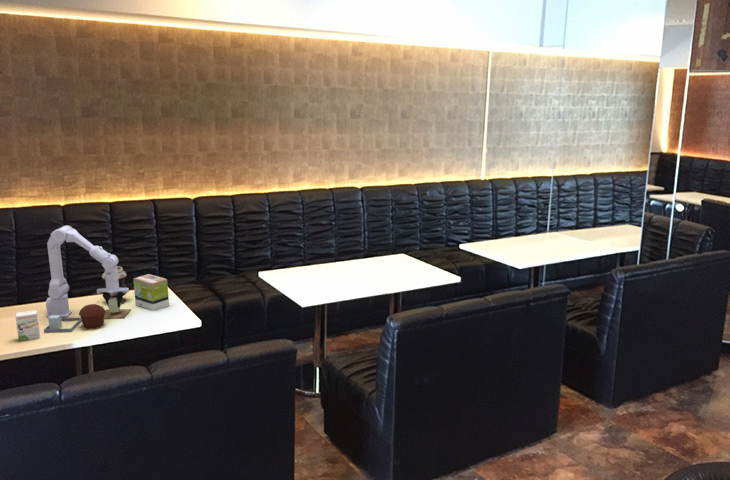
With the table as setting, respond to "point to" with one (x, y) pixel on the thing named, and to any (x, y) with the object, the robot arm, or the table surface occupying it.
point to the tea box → (151, 292)
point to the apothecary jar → (121, 282)
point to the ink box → (27, 325)
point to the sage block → (113, 305)
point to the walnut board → (116, 314)
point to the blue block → (55, 322)
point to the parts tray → (48, 330)
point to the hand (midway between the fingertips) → (114, 306)
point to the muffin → (92, 316)
